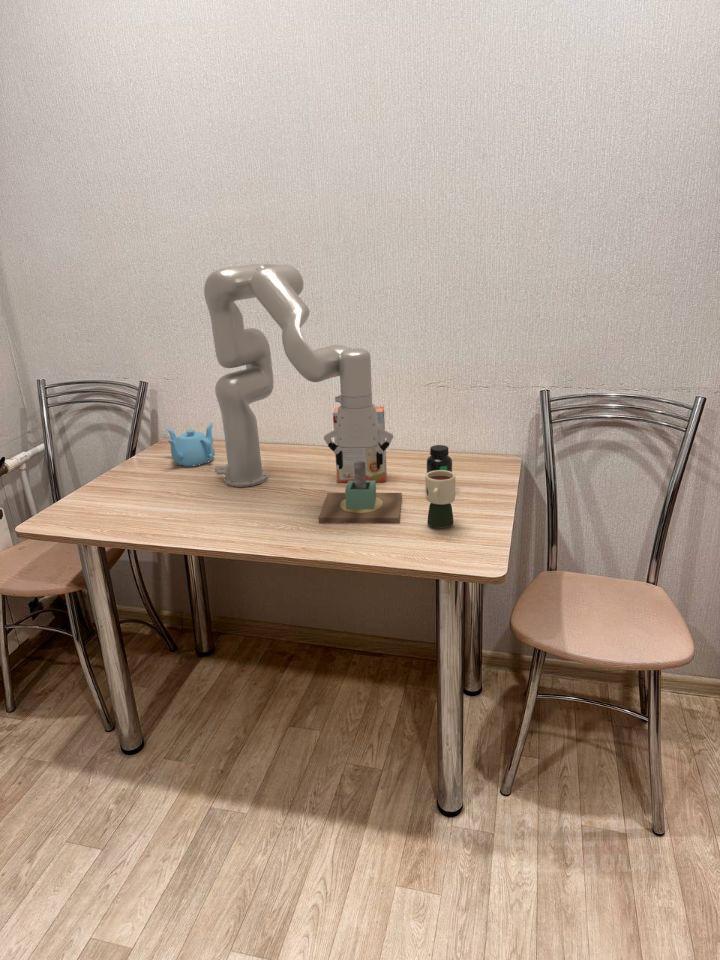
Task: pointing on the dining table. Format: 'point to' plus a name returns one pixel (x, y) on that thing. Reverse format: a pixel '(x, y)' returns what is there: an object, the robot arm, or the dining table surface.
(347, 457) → the cracker box
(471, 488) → the dining table surface
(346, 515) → the post board
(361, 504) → the collar
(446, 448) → the supplement bottle
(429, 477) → the character mug
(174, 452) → the teapot
